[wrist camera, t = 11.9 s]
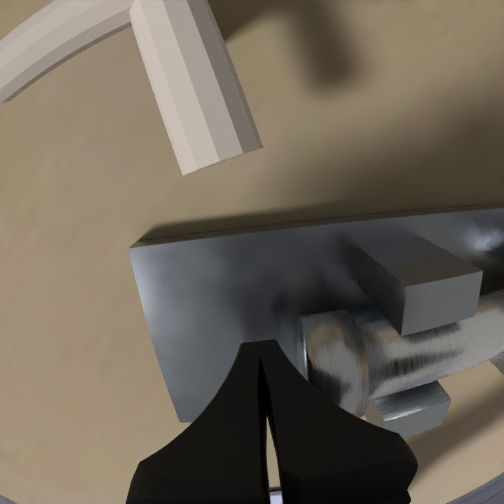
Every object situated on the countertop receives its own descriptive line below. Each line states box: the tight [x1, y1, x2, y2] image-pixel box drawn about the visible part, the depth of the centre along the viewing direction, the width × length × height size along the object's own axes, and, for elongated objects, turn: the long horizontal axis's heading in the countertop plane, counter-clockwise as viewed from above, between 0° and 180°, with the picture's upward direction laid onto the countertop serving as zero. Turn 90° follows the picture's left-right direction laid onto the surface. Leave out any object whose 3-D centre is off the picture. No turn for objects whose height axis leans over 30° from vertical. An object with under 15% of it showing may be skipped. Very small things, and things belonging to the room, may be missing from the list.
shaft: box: [296, 289, 504, 418], centre depth 10 cm, size 4×14×4 cm, turn 96°
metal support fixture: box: [129, 204, 504, 439], centre depth 11 cm, size 9×27×5 cm, turn 96°
